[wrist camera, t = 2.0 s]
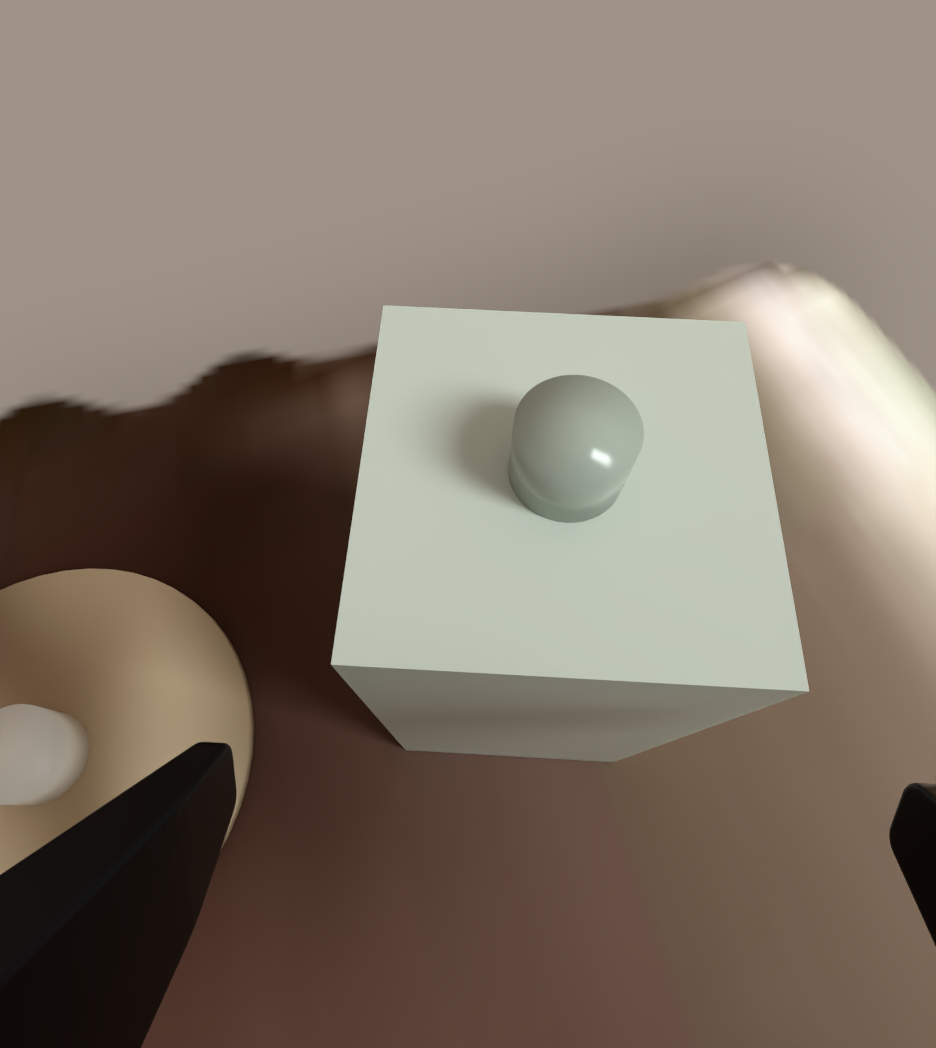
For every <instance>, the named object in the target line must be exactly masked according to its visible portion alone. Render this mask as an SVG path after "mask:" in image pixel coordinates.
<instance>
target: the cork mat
mask: <svg viewBox="0 0 936 1048" xmlns="http://www.w3.org/2000/svg"><path fill="white" fill-rule="evenodd" d="M15 704H29V705H34V706H38V707H42V708H46V709H50V710H54V711H58V712H61V713H65V714H68V715H71V716H73V717H75V718H76V719H77V720H79V722H80V723H81V724H82V725H83V726H84V728H85V730H86V732H87V735H88V740H89V753H88V758H87V762H86V764H85V767H84V769H83V771H82V773H81V775H80V776H79V778H78V779H77V780H76V782H75V783H74V784H73V785H72V786H71V787H70V788H69V789H68V790H67V791H66V792H65V793H63V794H62V795H61V796H59V797H58V798H56V799H54V800H52V801H50V802H47V803H44V804H40V805H33V806H29V805H0V874H2V873H3V872H5V871H6V870H8V869H9V868H11V867H12V866H14V865H15V864H17V863H18V862H20V861H21V860H23V859H24V858H26V857H27V856H29V855H30V854H32V853H33V852H35V851H36V850H38V849H39V848H41V847H42V846H44V845H45V844H47V843H48V842H50V841H51V840H53V839H54V838H56V837H57V836H59V835H60V834H62V833H63V832H65V831H66V830H67V829H69V828H70V827H72V826H73V825H75V824H76V823H78V822H79V821H81V820H82V819H84V818H85V817H87V816H88V815H90V814H91V813H93V812H94V811H96V810H97V809H99V808H100V807H102V806H103V805H105V804H106V803H108V802H109V801H111V800H112V799H114V798H115V797H117V796H118V795H120V794H121V793H123V792H124V791H126V790H127V789H129V788H130V787H132V786H133V785H135V784H136V783H137V782H139V781H140V780H142V779H143V778H145V777H146V776H148V775H149V774H151V773H152V772H154V771H155V770H157V769H158V768H160V767H161V766H163V765H164V764H166V763H167V762H169V761H170V760H172V759H173V758H175V757H176V756H178V755H179V754H181V753H182V752H184V751H185V750H187V749H188V748H190V747H191V746H193V745H194V744H196V743H198V742H219V743H227V744H228V745H229V746H230V747H231V749H232V753H233V762H234V771H235V780H236V790H237V796H236V804H235V808H234V812H233V815H232V818H231V821H230V824H229V827H228V830H227V833H226V836H225V839H224V842H223V845H222V848H223V846H224V844H225V842H226V840H227V838H228V837H229V834H230V832H231V829H232V827H233V825H234V822H235V820H236V818H237V815H238V813H239V810H240V808H241V804H242V801H243V797H244V794H245V791H246V787H247V784H248V780H249V775H250V769H251V763H252V757H253V746H254V716H253V704H252V698H251V693H250V689H249V685H248V680H247V676H246V674H245V671H244V669H243V666H242V663H241V661H240V658H239V656H238V654H237V652H236V650H235V649H234V647H233V645H232V643H231V642H230V640H229V638H228V637H227V635H226V634H225V633H224V631H223V630H222V629H221V628H220V626H219V625H218V624H217V623H216V621H215V620H214V619H213V618H212V617H211V616H209V615H208V614H207V613H206V612H205V611H204V610H203V609H202V608H201V607H200V606H199V605H197V604H196V603H195V602H194V601H192V600H191V599H189V598H188V597H186V596H185V595H183V594H182V593H180V592H179V591H177V590H176V589H174V588H172V587H170V586H168V585H166V584H164V583H162V582H160V581H158V580H155V579H152V578H149V577H146V576H143V575H139V574H136V573H132V572H125V571H119V570H113V569H78V570H67V571H61V572H56V573H51V574H46V575H41V576H38V577H35V578H31V579H28V580H25V581H22V582H19V583H16V584H13V585H11V586H9V587H7V588H4V589H2V590H0V709H1V708H4V707H7V706H10V705H15ZM222 848H221V849H222Z"/></svg>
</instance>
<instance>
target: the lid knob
mask: <svg viewBox="0 0 936 1048" xmlns="http://www.w3.org/2000/svg"><path fill="white" fill-rule="evenodd" d="M88 753H89V740H88V735H87V732H86V730H85V728H84V726H83V725H82V724H81V723H80V722H79V720H77V719H76V718H75V717H73V716H71V715H68V714H65V713H61V712H58V711H54V710H50V709H46V708H42V707H38V706H34V705H29V704H15V705H10V706H7V707H4V708H1V709H0V805H29V806H33V805H40V804H44V803H47V802H50V801H52V800H54V799H56V798H58V797H59V796H61V795H62V794H63V793H65V792H66V791H67V790H68V789H69V788H70V787H71V786H72V785H73V784H74V783H75V782H76V780H77V779H78V778H79V776H80V775H81V773H82V771H83V769H84V767H85V764H86V762H87V758H88Z"/></svg>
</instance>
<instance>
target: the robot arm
mask: <svg viewBox="0 0 936 1048" xmlns="http://www.w3.org/2000/svg"><path fill="white" fill-rule="evenodd" d="M236 796H237V790H236V780H235V771H234V762H233V753H232V749H231V747H230V746H229V745H228V744H227V743H219V742H198V743H196V744H194V745H193V746H191V747H190V748H188V749H187V750H185V751H184V752H182V753H181V754H179V755H178V756H176V757H175V758H173V759H172V760H170V761H169V762H167V763H166V764H164V765H163V766H161V767H160V768H158V769H157V770H155V771H154V772H152V773H151V774H149V775H148V776H146V777H145V778H143V779H142V780H140V781H139V782H137V783H136V784H135V785H133V786H132V787H130V788H129V789H127V790H126V791H124V792H123V793H121V794H120V795H118V796H117V797H115V798H114V799H112V800H111V801H109V802H108V803H106V804H105V805H103V806H102V807H100V808H99V809H97V810H96V811H94V812H93V813H91V814H90V815H88V816H87V817H85V818H84V819H82V820H81V821H79V822H78V823H76V824H75V825H73V826H72V827H70V828H69V829H67V830H66V831H65V832H63V833H62V834H60V835H59V836H57V837H56V838H54V839H53V840H51V841H50V842H48V843H47V844H45V845H44V846H42V847H41V848H39V849H38V850H36V851H35V852H33V853H32V854H30V855H29V856H27V857H26V858H24V859H23V860H21V861H20V862H18V863H17V864H15V865H14V866H12V867H11V868H9V869H8V870H6V871H5V872H3V873H2V874H0V1048H141V1046H142V1044H143V1042H144V1040H145V1037H146V1035H147V1033H148V1031H149V1028H150V1026H151V1024H152V1022H153V1019H154V1017H155V1015H156V1013H157V1011H158V1008H159V1006H160V1004H161V1002H162V999H163V997H164V995H165V993H166V991H167V988H168V986H169V984H170V982H171V979H172V977H173V975H174V973H175V970H176V968H177V966H178V964H179V962H180V959H181V957H182V955H183V953H184V950H185V948H186V946H187V943H188V941H189V939H190V936H191V934H192V932H193V929H194V927H195V924H196V921H197V919H198V916H199V913H200V910H201V907H202V904H203V901H204V898H205V895H206V892H207V889H208V886H209V883H210V881H211V878H212V875H213V872H214V869H215V866H216V863H217V860H218V857H219V854H220V851H221V848H222V845H223V842H224V839H225V836H226V833H227V830H228V827H229V824H230V821H231V818H232V815H233V812H234V808H235V804H236ZM889 837H890V844H891V847H892V850H893V853H894V855H895V857H896V859H897V862H898V864H899V866H900V868H901V871H902V873H903V875H904V877H905V879H906V882H907V884H908V886H909V888H910V890H911V893H912V895H913V897H914V899H915V901H916V904H917V906H918V908H919V910H920V913H921V915H922V917H923V919H924V921H925V924H926V926H927V928H928V930H929V932H930V935H931V937H932V939H933V941H934V943H935V946H936V784H926V783H912V784H909V785H908V786H907V787H906V788H905V789H904V791H903V794H902V797H901V799H900V802H899V805H898V808H897V810H896V813H895V816H894V819H893V821H892V824H891V827H890V835H889Z"/></svg>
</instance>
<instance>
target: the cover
mask: <svg viewBox="0 0 936 1048" xmlns="http://www.w3.org/2000/svg"><path fill="white" fill-rule="evenodd" d="M331 665H332V667H333V668H334V669H335V670H336V671H337V672H338V673H339V675H340V676H341V677H342V678H343V679H344V680H345V682H346V683H347V684H348V685H349V686H350V687H351V688H352V690H353V691H354V692H355V693H356V694H357V695H358V696H359V698H360V699H361V700H362V701H363V702H364V703H365V704H366V706H367V707H368V708H369V709H370V710H371V711H372V712H373V714H374V715H375V716H376V717H377V718H378V719H379V720H380V722H381V723H382V724H383V725H384V726H385V727H386V728H387V730H388V731H389V732H390V733H391V734H392V735H393V736H394V738H395V739H396V740H397V741H398V742H399V743H400V744H401V746H402V747H403V748H404V749H405V750H413V751H431V752H448V753H465V754H482V755H500V756H517V757H534V758H551V759H568V760H586V761H603V762H615V761H618V760H620V759H623V758H626V757H629V756H632V755H634V754H637V753H640V752H643V751H645V750H648V749H651V748H654V747H657V746H659V745H662V744H665V743H668V742H670V741H673V740H676V739H679V738H682V737H684V736H687V735H690V734H693V733H695V732H698V731H701V730H704V729H706V728H709V727H712V726H715V725H718V724H720V723H723V722H726V721H729V720H731V719H734V718H737V717H740V716H743V715H745V714H748V713H751V712H754V711H756V710H759V709H762V708H765V707H768V706H770V705H773V704H776V703H779V702H781V701H784V700H787V699H790V698H793V697H795V696H798V695H801V694H804V693H806V692H809V687H808V681H807V675H806V670H805V664H804V658H803V652H802V647H801V641H800V635H799V629H798V624H797V618H796V612H795V606H794V601H793V595H792V589H791V583H790V578H789V572H788V566H787V560H786V555H785V549H784V543H783V537H782V532H781V526H780V520H779V514H778V509H777V503H776V497H775V491H774V486H773V480H772V474H771V468H770V463H769V457H768V451H767V445H766V440H765V434H764V428H763V422H762V417H761V411H760V405H759V399H758V394H757V388H756V382H755V376H754V371H753V365H752V359H751V353H750V348H749V342H748V336H747V330H746V325H745V322H730V321H709V320H687V319H665V318H644V317H622V316H601V315H579V314H558V313H557V314H555V313H536V312H514V311H492V310H471V309H448V308H426V307H406V306H385V305H384V306H383V314H382V320H381V327H380V334H379V340H378V347H377V354H376V361H375V367H374V374H373V381H372V388H371V395H370V401H369V408H368V415H367V422H366V429H365V435H364V442H363V449H362V456H361V463H360V469H359V476H358V483H357V490H356V497H355V503H354V510H353V517H352V524H351V531H350V537H349V544H348V551H347V558H346V565H345V571H344V578H343V585H342V592H341V599H340V606H339V612H338V619H337V626H336V633H335V640H334V646H333V653H332V660H331Z"/></svg>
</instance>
